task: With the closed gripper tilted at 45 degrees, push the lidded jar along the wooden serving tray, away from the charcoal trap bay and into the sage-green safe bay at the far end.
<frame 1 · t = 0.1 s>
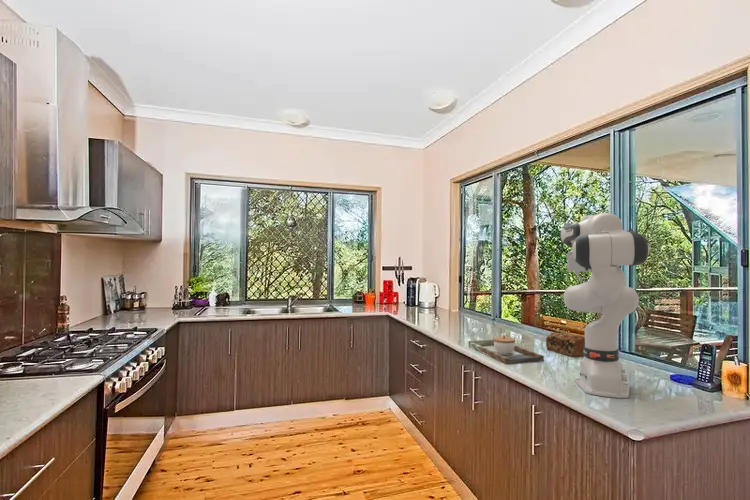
hand: (592, 281, 176), 39 cm above the worktop, tool pointing down, fingers open, 8 cm apart
bread: (566, 353, 204), on the worktop
lidded jar: (504, 354, 203), resting in wooden serving tray
wooden serving tray: (503, 353, 204), on the worktop
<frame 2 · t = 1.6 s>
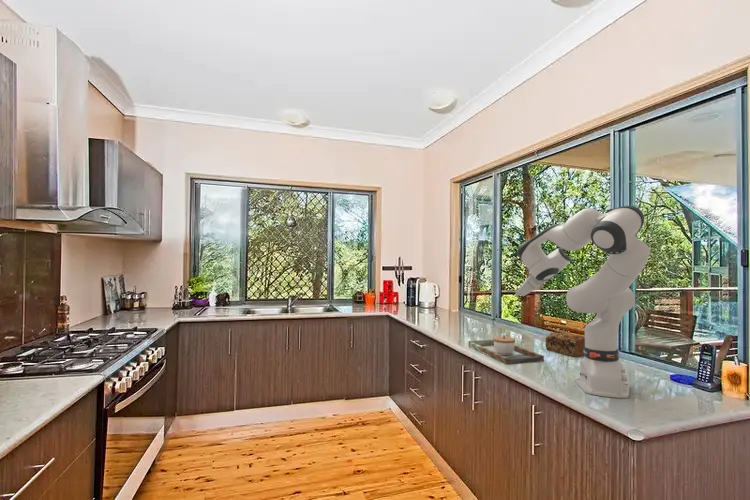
hand: (520, 289, 191), 34 cm above the worktop, tool tilted 55°, fingers open, 8 cm apart
nothing on the worktop moved.
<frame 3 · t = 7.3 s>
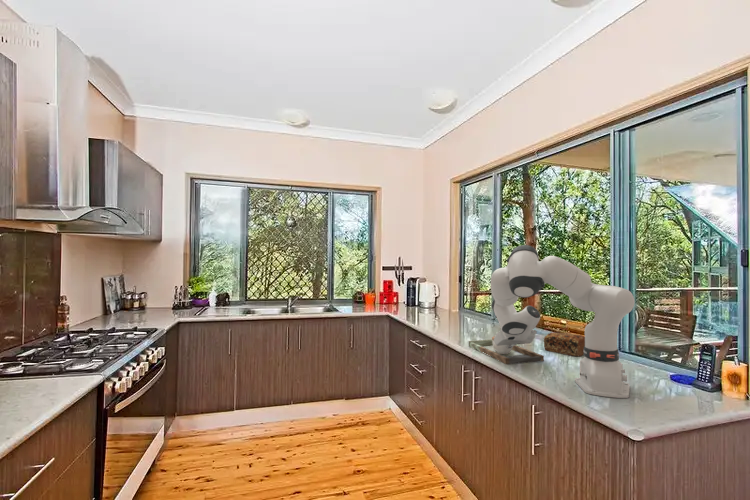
hand: (508, 347, 199), 4 cm above the worktop, tool tilted 45°, fingers closed, pressing on lidded jar
lidded jar: (502, 353, 204), resting in wooden serving tray, touching gripper
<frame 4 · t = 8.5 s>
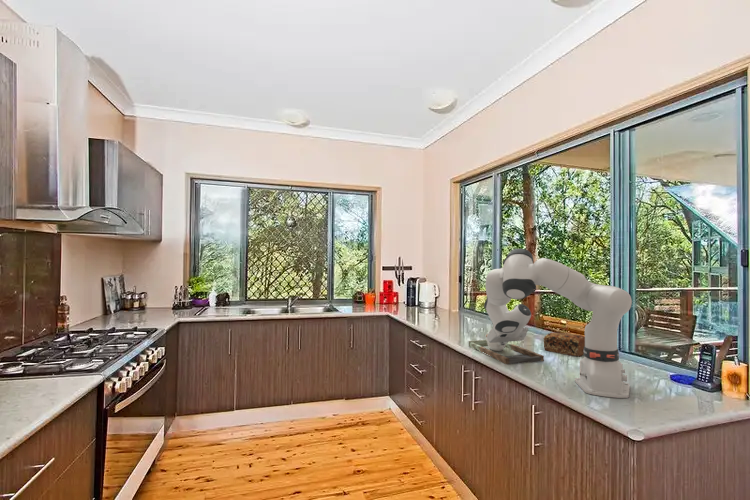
hand: (501, 344, 205), 4 cm above the worktop, tool tilted 45°, fingers closed, pressing on lidded jar
lidded jar: (496, 350, 211), resting in wooden serving tray, touching gripper
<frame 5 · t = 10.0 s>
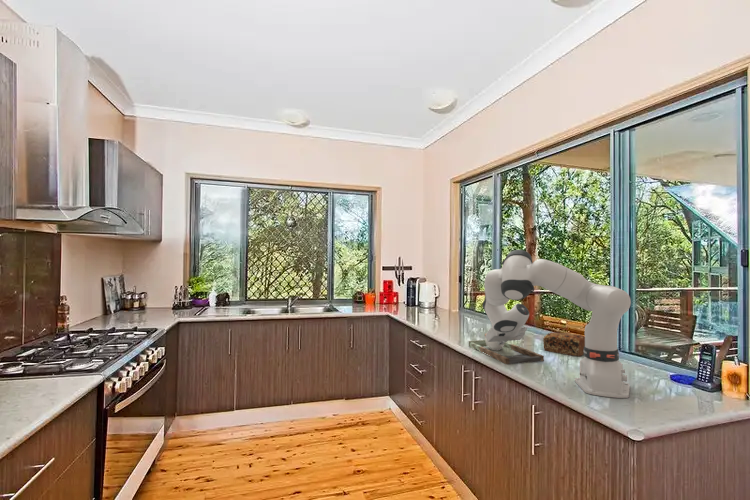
hand: (499, 343, 207), 4 cm above the worktop, tool tilted 45°, fingers closed
lidded jar: (495, 349, 213), resting in wooden serving tray
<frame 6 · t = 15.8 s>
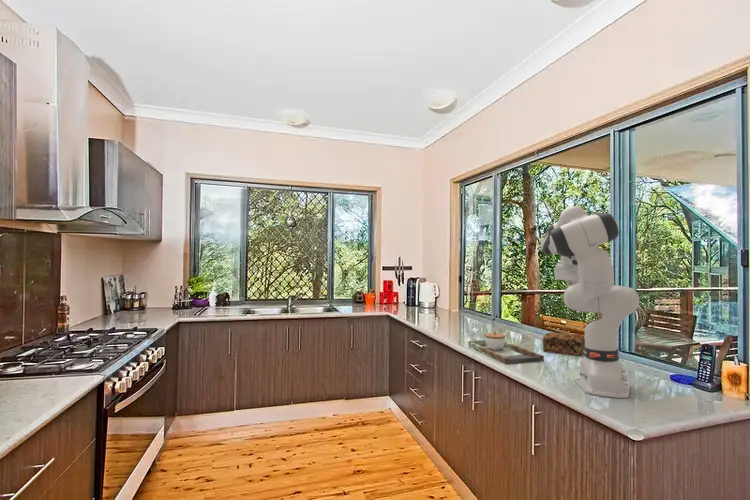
hand: (572, 290, 183), 34 cm above the worktop, tool pointing down, fingers closed
at the end: lidded jar inside the target area on the wooden serving tray (2.1 cm from its centre), point 0.0 cm above the wooden serving tray's base; lidded jar tilted 0° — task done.
